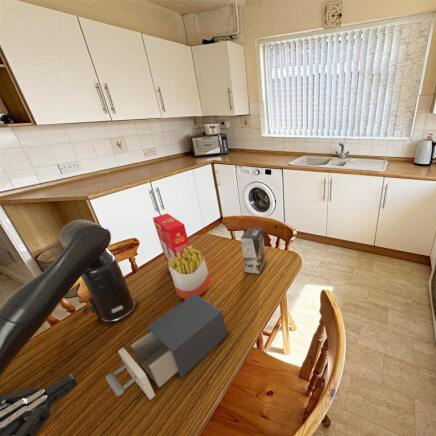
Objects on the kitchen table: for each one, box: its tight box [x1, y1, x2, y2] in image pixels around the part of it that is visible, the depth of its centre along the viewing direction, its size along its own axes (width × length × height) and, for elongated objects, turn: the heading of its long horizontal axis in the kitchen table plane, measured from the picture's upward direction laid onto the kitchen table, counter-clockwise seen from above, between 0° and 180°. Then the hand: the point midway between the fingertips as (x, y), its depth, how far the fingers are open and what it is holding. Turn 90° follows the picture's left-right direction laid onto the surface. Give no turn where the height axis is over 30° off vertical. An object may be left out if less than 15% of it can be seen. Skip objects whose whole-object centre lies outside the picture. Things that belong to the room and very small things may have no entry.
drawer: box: [105, 332, 178, 401], centre depth 59 cm, size 18×11×8 cm, turn 144°
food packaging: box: [152, 213, 190, 274], centre depth 90 cm, size 15×5×25 cm, turn 47°
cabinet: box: [146, 294, 228, 378], centre depth 66 cm, size 15×13×10 cm
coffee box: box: [240, 227, 267, 275], centre depth 97 cm, size 9×6×16 cm
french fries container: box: [168, 244, 211, 301], centre depth 83 cm, size 5×11×18 cm, turn 148°
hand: (74, 379), depth 46 cm, fingers closed
